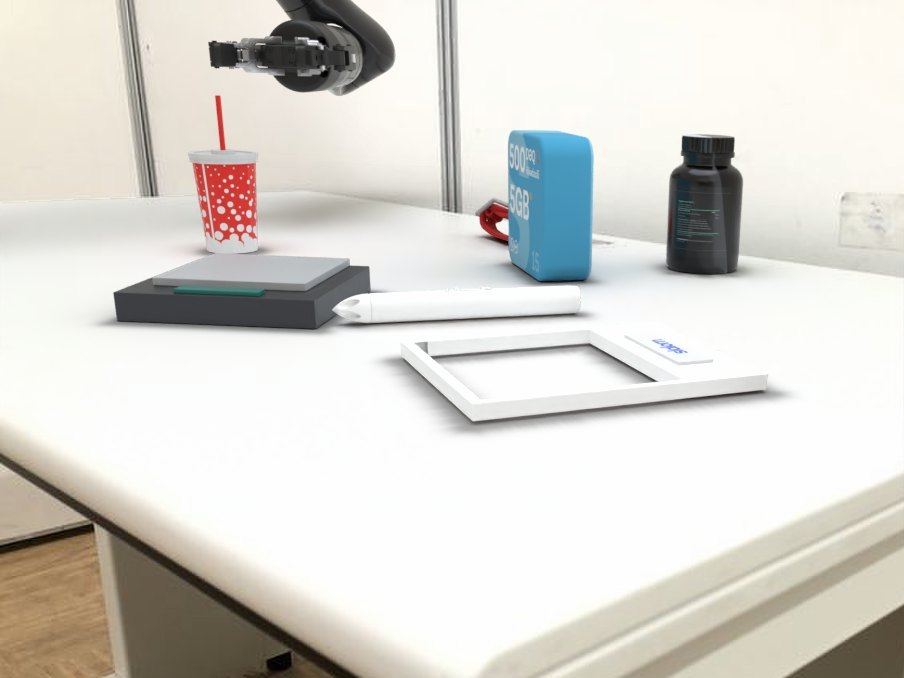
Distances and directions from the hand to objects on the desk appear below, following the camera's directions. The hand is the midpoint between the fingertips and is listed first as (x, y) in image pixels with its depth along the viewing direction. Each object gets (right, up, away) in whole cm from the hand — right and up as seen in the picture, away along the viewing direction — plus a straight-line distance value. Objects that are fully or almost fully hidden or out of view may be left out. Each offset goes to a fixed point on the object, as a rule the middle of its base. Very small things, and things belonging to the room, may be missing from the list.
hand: (259, 56), depth 110 cm
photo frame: (+34, -36, -43) cm, 65 cm away
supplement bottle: (+44, -22, -6) cm, 50 cm away
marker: (+25, -31, -29) cm, 49 cm away
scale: (+9, -29, -27) cm, 41 cm away
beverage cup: (-1, -20, -4) cm, 21 cm away
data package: (+30, -24, -10) cm, 39 cm away
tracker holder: (+26, -17, +7) cm, 32 cm away
